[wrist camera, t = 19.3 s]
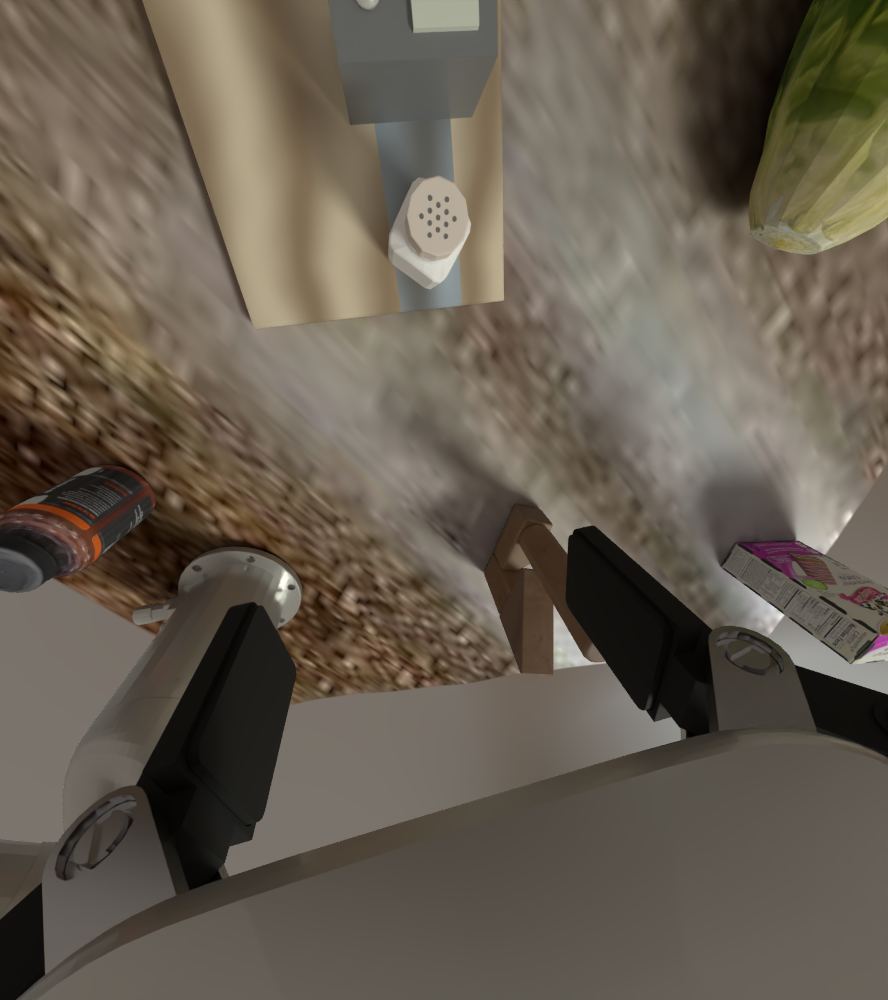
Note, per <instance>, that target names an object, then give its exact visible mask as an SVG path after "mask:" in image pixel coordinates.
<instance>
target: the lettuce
mask: <svg viewBox="0 0 888 1000" xmlns="http://www.w3.org/2000/svg"><path fill="white" fill-rule="evenodd" d="M886 218H888V0H813V2H812V4H811V6H810V8H809V11H808V13H807V15H806V17H805V19H804V22H803V24H802V26H801V28H800V30H799V33H798V35H797V38H796V41H795V43H794V46H793V49H792V51H791V54H790V57H789V59H788V62H787V65H786V67H785V70H784V73H783V75H782V78H781V81H780V85H779V88H778V91H777V94H776V97H775V100H774V103H773V106H772V110H771V113H770V116H769V120H768V126H767V131H766V137H765V143H764V148H763V153H762V157H761V160H760V163H759V166H758V169H757V172H756V176H755V179H754V182H753V185H752V188H751V192H750V201H749V222H750V232H751V235H752V236H753V237H754V238H755V239H756V240H758V241H760V242H762V243H763V244H765V245H768V246H770V247H773V248H776V249H779V250H783V251H786V252H790V253H797V254H816V253H819V252H822V251H824V250H827V249H829V248H831V247H834V246H836V245H839V244H841V243H844V242H846V241H848V240H850V239H852V238H854V237H856V236H858V235H860V234H862V233H864V232H866V231H868V230H869V229H871V228H873V227H875V226H876V225H878V224H879V223H881V222H882V221H883V220H885V219H886Z"/></svg>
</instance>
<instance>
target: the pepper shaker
mask: <svg viewBox="0 0 888 1000" xmlns="http://www.w3.org/2000/svg"><path fill="white" fill-rule="evenodd" d="M470 227H471V222H470V219H469V217H468V211H467V204H466V199H465V198H464V196H463V195H462V193H461V192H460V190H459V188H458V187H457V185H456V184H455V183H454V182H452V181H450V180H448V179H446V178H443V177H441V176H439V175H438V176H434V177H430V178H420V177H419V178H417V179H416V180H415V181H414V182H412V184H411V187H410V189H409V191H408V193H407V195H406V197H405V200H404V202H403V204H402V206H401V208H400V211H399V213H398V215H397V218H396V220H395V222H394V225H393V227H392V229H391V232H390V234H389V248H388V258H389V260H390V261H391V263H392V264H393V265H394V266H396V267H397V268H398V269H400V270H401V271H402V272H404V273H405V274H406V275H408V276H409V277H410V278H412V279H413V280H414V281H416V282H417V283H418V284H420V285H421V286H423V287H424V288H426V289H432V288H433V287H435V286H437V285H438V284H440V283H441V282H442V281H443V280H444V279H446V277H447V275H448V273H449V272H450V270H451V268H452V266H453V264H454V262H455V260H456V258H457V257H458V255H459V253H460V251H461V249H462V247H463V245H464V243H465V241H466V239H467V237H468V235H469V233H470Z"/></svg>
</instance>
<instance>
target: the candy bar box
mask: <svg viewBox="0 0 888 1000" xmlns="http://www.w3.org/2000/svg"><path fill="white" fill-rule="evenodd" d="M722 569H724V570H725V571H727V572H728V573H729V574H731V575H732V576H733V577H735V578H736V579H737V580H739V581H740V582H741V583H743V584H744V585H745V586H747V587H748V588H749V589H751V590H752V591H754V592H755V593H756V594H758V595H759V596H760V597H762V598H763V599H764V600H766V601H767V602H768V603H769V604H771V605H772V606H774V607H775V608H776V609H778V610H779V611H780V612H782V613H783V614H784V615H786V616H787V617H788V618H790V619H791V620H792V621H794V622H795V623H797V624H798V625H799V626H800V627H802V628H803V629H804V630H806V631H807V632H808V633H810V634H811V635H813V636H814V637H815V638H817V639H818V640H819V641H821V642H822V643H824V644H825V645H826V646H828V647H829V648H830V649H832V650H833V651H834V652H836V653H837V654H838V655H840V656H841V657H842V658H844V659H845V660H846V661H848V662H849V663H850V664H861V663H870V662H880V661H888V589H887V588H885V587H884V586H882V585H880V584H878V583H876V582H874V581H872V580H870V579H868V578H866V577H865V576H863V575H861V574H859V573H857V572H856V571H854V570H852V569H850V568H848V567H846V566H844V565H842V564H840V563H839V562H837V561H835V560H833V559H831V558H829V557H827V556H826V555H824V554H822V553H820V552H818V551H816V550H814V549H813V548H811V547H809V546H807V545H805V544H803V543H802V542H800V541H777V542H751V543H736V544H735V545H734V546H733V548H732V549H731V551H730V553H729V555H728V557H727V559H726V560H725V562H724V564H723V565H722Z"/></svg>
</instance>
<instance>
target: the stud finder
mask: <svg viewBox="0 0 888 1000" xmlns="http://www.w3.org/2000/svg"><path fill="white" fill-rule="evenodd" d="M328 5H329V11H330V17H331V23H332V29H333V35H334V41H335V47H336V53H337V59H338V65H339V70H340V75H341V80H342V86H343V91H344V96H345V101H346V106H347V111H348V116H349V122H350V125H359V124H375V123H391V122H407V121H423V120H439V119H455V118H470V117H472V116H473V113H474V111H475V109H476V106H477V104H478V102H479V99H480V97H481V95H482V92H483V90H484V87H485V85H486V83H487V80H488V78H489V76H490V73H491V71H492V68H493V66H494V64H495V61H496V59H497V57H498V15H497V0H328Z"/></svg>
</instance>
